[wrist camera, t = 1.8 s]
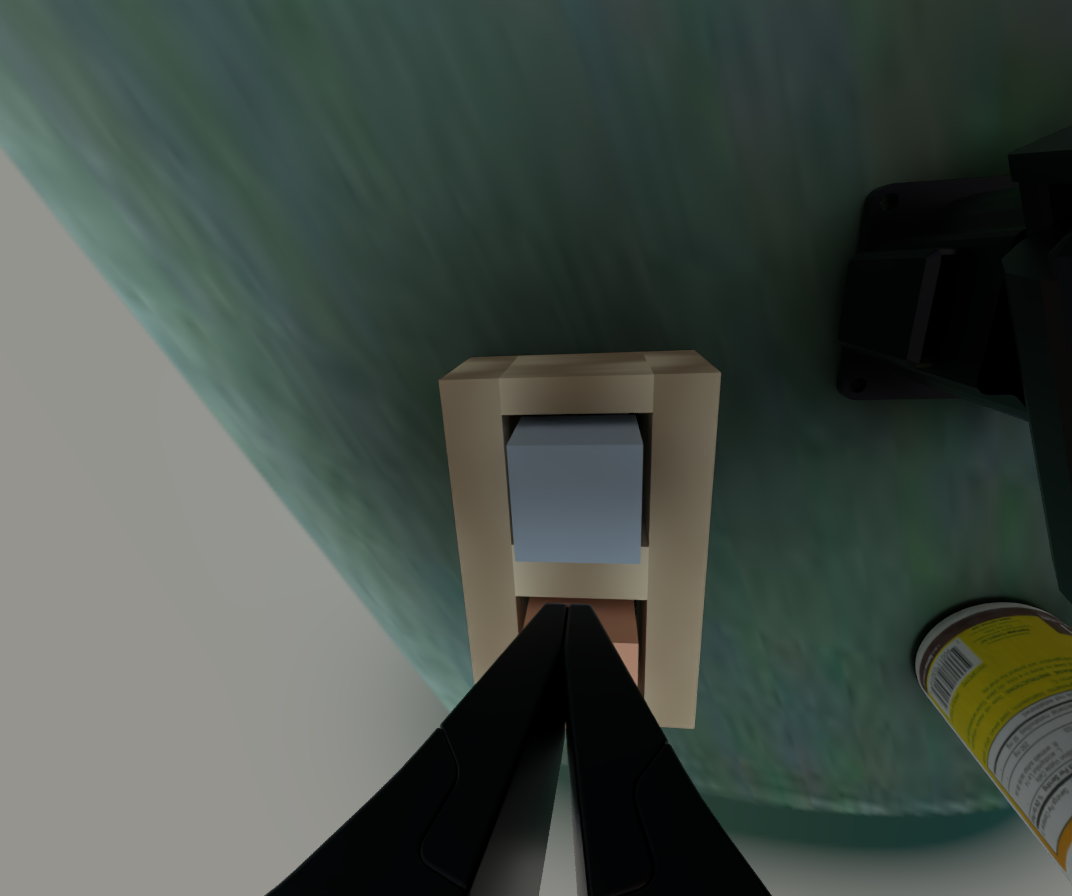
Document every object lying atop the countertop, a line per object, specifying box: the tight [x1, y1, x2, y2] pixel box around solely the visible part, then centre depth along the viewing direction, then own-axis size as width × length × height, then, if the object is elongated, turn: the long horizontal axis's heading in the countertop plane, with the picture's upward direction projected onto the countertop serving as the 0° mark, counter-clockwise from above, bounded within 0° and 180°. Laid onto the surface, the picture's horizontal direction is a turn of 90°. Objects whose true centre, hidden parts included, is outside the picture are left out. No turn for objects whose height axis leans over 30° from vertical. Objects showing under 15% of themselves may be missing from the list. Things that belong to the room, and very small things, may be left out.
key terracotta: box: [523, 597, 638, 686], centre depth 17 cm, size 4×4×3 cm
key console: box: [439, 350, 721, 729], centre depth 18 cm, size 8×13×4 cm, turn 3°
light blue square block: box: [507, 415, 643, 564], centre depth 15 cm, size 4×4×3 cm
